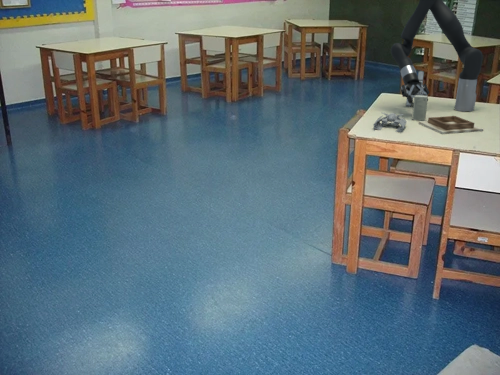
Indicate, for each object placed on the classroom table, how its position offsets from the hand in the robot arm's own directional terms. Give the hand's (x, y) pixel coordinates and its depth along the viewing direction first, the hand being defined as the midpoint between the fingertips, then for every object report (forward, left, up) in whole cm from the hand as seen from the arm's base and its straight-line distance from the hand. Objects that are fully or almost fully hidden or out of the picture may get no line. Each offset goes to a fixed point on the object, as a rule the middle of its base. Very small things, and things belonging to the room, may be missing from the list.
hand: (418, 102), depth 267 cm
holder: (-6, +19, -9) cm, 22 cm away
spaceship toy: (+22, +12, -9) cm, 26 cm away
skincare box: (0, +1, -9) cm, 9 cm away
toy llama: (-16, -30, -9) cm, 35 cm away
